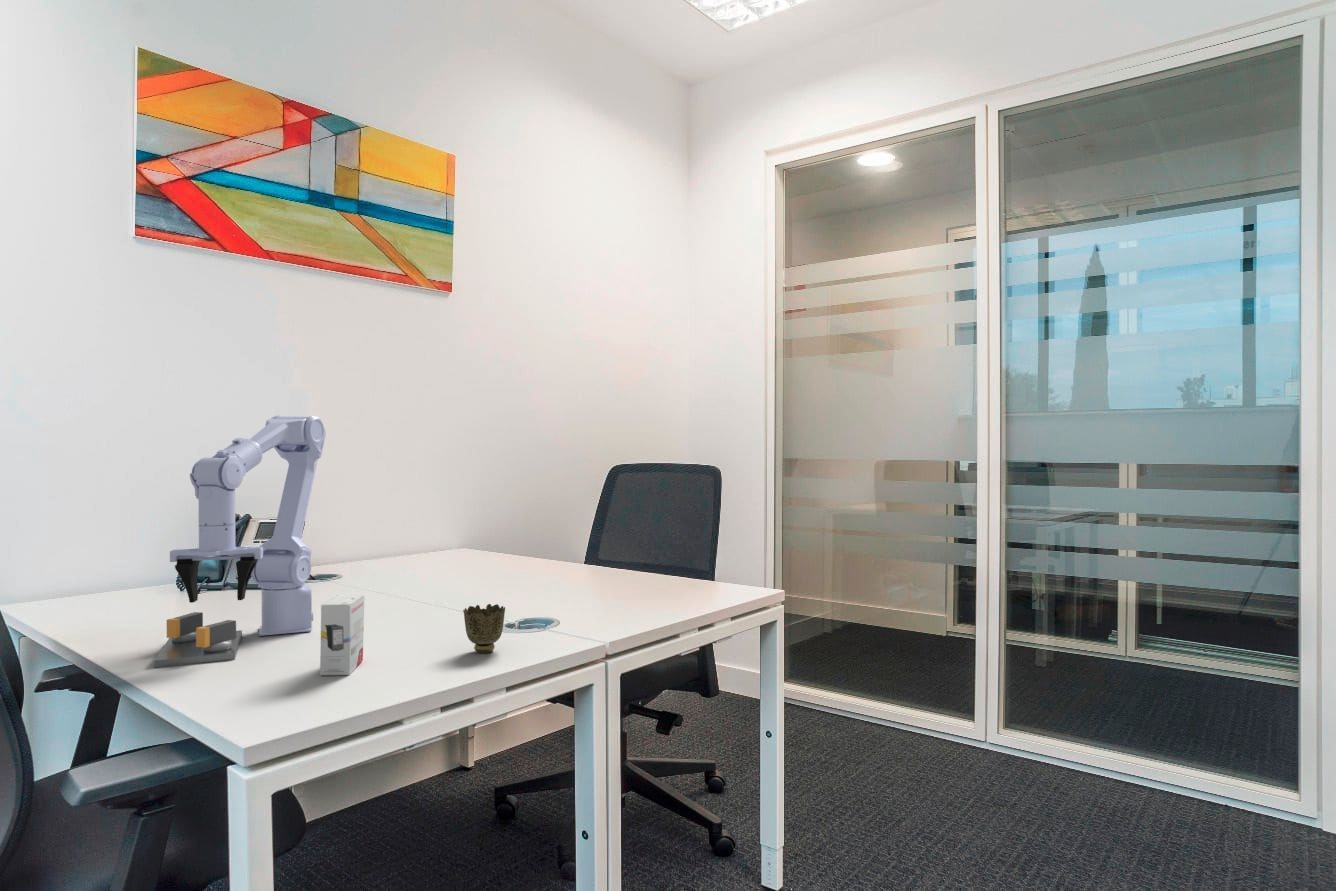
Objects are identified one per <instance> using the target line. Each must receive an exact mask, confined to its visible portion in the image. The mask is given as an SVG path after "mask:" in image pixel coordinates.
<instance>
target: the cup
mask: <svg viewBox="0 0 1336 891" xmlns="http://www.w3.org/2000/svg"><path fill="white" fill-rule="evenodd" d="M462 612H463V617H464V618H463V620H464V625H465V626H464V627H465V632H466V635H467V638H468V640H469V641H470V643H472V644H473V645H474V646H473V649H474V651H475V653H478V654H489V653H492V652H493V651H494V650H495V647H496V646H495V643H496V642H498V641H499V639H500V638H501V637H502V634H503V630H504V629H503V628H504V621H505V612H506V607H505V606H504V605H502V606H500V605H499V604H498V603H497V604H494V605H492V604H490V603H488V604H486V607H485V608H484V607H483V608H481V606H480V605H478V604H477V605H475V606H472V605H469V606H468V607H467V608H466V607H464V609H463V610H462Z"/></svg>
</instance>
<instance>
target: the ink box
mask: <svg viewBox="0 0 1336 891" xmlns="http://www.w3.org/2000/svg"><path fill="white" fill-rule="evenodd" d="M365 597H366V596H365V595H364V594H343V595H340V594H339V595H336V596H334V597H332V598H331V599H329V600H327V601H326V602H323V603H322V604H321V605H320V606H321V607H320V609H321V610H320V655H319V656H320V662H319V663H320V664H319V665H320V666H319V674H320V676H350V675H351V674H352V673H353V672H354V671H355V670H356V669H357V667H359V665H360V664H361V663H362V662H363V660H364V630H365V629H364V625H365V622H364V621H365Z"/></svg>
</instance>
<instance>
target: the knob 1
mask: <svg viewBox="0 0 1336 891" xmlns="http://www.w3.org/2000/svg"><path fill="white" fill-rule="evenodd" d="M203 614H204V613H203V612H198V611H197V612H196V611H194V612H190V613H186V614H183V615H180V616H177V617H176V616H175V617H172V618H167V619H166V638H167V639H169V638H172V642H190V641H194V640H196V628H198V627H203V626H204V625H203V624H204V622H203V621H204V620H203V619H204V617H203V616H204V615H203Z"/></svg>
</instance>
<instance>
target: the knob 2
mask: <svg viewBox="0 0 1336 891" xmlns="http://www.w3.org/2000/svg"><path fill="white" fill-rule="evenodd" d="M236 631H237V620H233V619H232V620H231V619H227V620H223V621H219V622H216V623H211V624H207V625H203V627H198V628H196V647H203V651H205V652H218V651H224V650H228V649H230V648H231V647H232V646H231V640H232V639H235V638H236Z"/></svg>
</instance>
